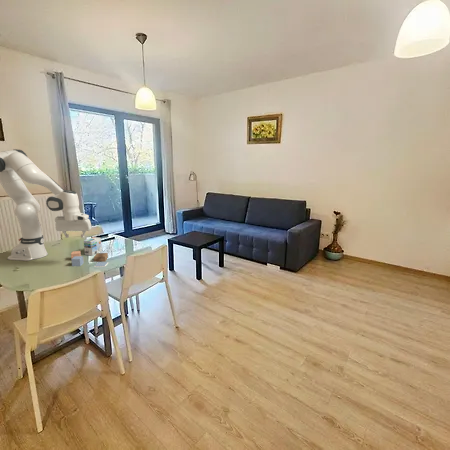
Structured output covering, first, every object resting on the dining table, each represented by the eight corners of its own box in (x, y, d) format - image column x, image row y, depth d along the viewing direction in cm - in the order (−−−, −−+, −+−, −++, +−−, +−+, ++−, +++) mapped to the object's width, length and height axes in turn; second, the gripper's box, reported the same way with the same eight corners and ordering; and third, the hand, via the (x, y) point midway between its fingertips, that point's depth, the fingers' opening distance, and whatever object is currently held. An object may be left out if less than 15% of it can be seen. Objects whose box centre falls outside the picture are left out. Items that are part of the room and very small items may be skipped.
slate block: (72, 266, 164) (71, 259, 163) (75, 263, 169) (74, 256, 167) (80, 266, 164) (79, 259, 163) (83, 263, 169) (82, 256, 168)
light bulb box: (92, 255, 182) (91, 241, 180) (84, 254, 183) (82, 240, 181) (102, 251, 192) (101, 237, 190) (94, 250, 194) (93, 236, 191)
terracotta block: (71, 260, 172) (71, 254, 171) (73, 258, 177) (72, 251, 176) (80, 260, 174) (79, 253, 173) (81, 257, 179) (80, 250, 177)
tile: (94, 267, 164) (94, 266, 164) (97, 262, 170) (97, 262, 170) (105, 266, 165) (105, 265, 165) (108, 262, 171) (108, 261, 171)
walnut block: (94, 262, 172) (93, 256, 171) (97, 258, 179) (97, 253, 178) (105, 261, 173) (104, 256, 172) (108, 258, 180) (107, 252, 179)
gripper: (52, 217, 154) (54, 238, 158) (87, 217, 157) (89, 238, 160) (57, 215, 160) (60, 236, 164) (91, 215, 163) (93, 235, 166)
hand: (75, 237), depth 162 cm, fingers open, 8 cm apart
